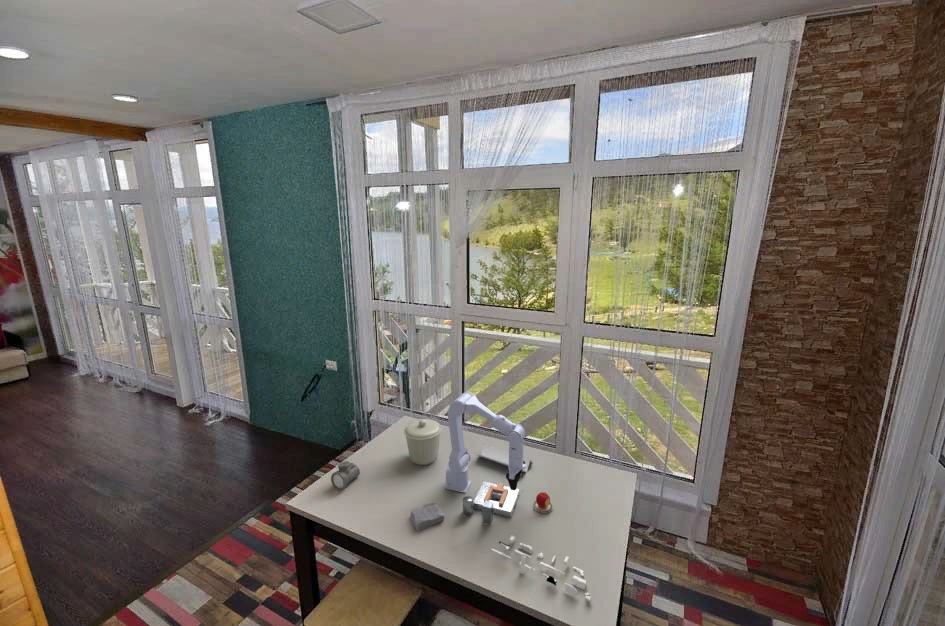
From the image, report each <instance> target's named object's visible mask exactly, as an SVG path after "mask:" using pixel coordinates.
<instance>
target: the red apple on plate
mask: <svg viewBox="0 0 945 626" xmlns="http://www.w3.org/2000/svg"><path fill="white" fill-rule="evenodd" d="M535 498H536V499H535V500H534V501H533V504H532V506H533V508H534V510H535V511H536V512H538V513H542V514H546V513H550V512H552V510H553V508H554V506H553V502H551V498H550V495H549V494H548V493H547V492H546V491H545V492H543V491H542V492H539V493H537V495H536V497H535Z"/></svg>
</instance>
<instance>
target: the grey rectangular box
mask: <svg viewBox="0 0 945 626" xmlns="http://www.w3.org/2000/svg"><path fill="white" fill-rule="evenodd" d="M493 508H494V502H491V501H486V500H485V502H484V504H483V510H482V524H484V525H488V526H492V524H493V522H494V513H493Z"/></svg>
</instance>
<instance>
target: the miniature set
mask: <svg viewBox="0 0 945 626" xmlns="http://www.w3.org/2000/svg"><path fill="white" fill-rule="evenodd" d="M516 538H517V536H515V535H513V534H510V538H509V543H511V544H513V543H514V542H516ZM498 544H499V545H501V546H504V547H505V550H506V551H509V549H511V546H510V544H506V543H505V542H502V541H499V542H498ZM518 549H521V550H523V551H525V552H528V553H529V554H532V552H533V546H531V545H529V544H526V543H522V542H518ZM518 549H516V548H515V549H514V552H516V553H517V554H520V555H521V556H522V557H521V561H519V564H518V565H519V566H520V569H519V573H520V574H521V575H524V573H525V569H528V570H530V571H531V572H533V571H536V569H535V568H534V567H533V566H529V565H527V564H526V561H527V557H528V558H530V559H531V558H532V556H531V555H529V554H527V553H524V552H522V551H520V550H518ZM491 550H492V551H493V552H495V553H496V554H499V555H500V556H503V557H504V558H505V557H506V558H507V559H509V560H511V559H512V557H511V556H509V555H508V554H505V553H504V552H505V551H502V552H501V551H499V550H497V549H494V548H491ZM543 558H544V554H543V552H540V553H538V555H537V559H540V560H541V561H540V562H539V565H541V566H544V567H545V568H549V569H552V570H553V571H557V572H560V573H561V574H563V575H566V573H565V572H563V571H561V570H558V569H556V568H555V567H553V566H552V565H549V564H547V563H544V562H543V561H542V560H543ZM556 558H557V557H556V555H554V556H553V557H552V559H551V564H554V562H555V560H556ZM569 561H570V557H569V556H568V555H567V556H565V558H564V560H563V565H565V566H567V564H568V563H569ZM572 569H573V570H575V571H576V572H577V573H579V576H581V577H584V573H585V572H584V570H583V569H581V568H579V567H576V566H574V565H573V568H572ZM542 576H543V577H545V578H546V583H550V584H552V585H553V586H554V587H555V586H557V582H558V581H557V578H554V577H553V576H552V575H547V574H546V573H544V572H543V573H542ZM579 576H577V575H573V577H572V581H571V584H569V583H567V582H564V583H563V584H564V586H565V588H562V590H563V591H564V592H566V593H568V594H570V595H572V596H573V595H575V596H576V595H577V594H578V593H579V592H578V590H577V588H581V589H582V590H586V584H587V580H585V579H583V578H581V577H579ZM572 585H573V586H572ZM575 587H577V588H575ZM590 595H591V594H590V593H589V592H584V596H585V599H584V600H585V601H587V602H591V599H592V598H591V596H590Z"/></svg>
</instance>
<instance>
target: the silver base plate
mask: <svg viewBox="0 0 945 626" xmlns="http://www.w3.org/2000/svg"><path fill="white" fill-rule="evenodd" d="M497 485H498V483H497V484H496V483H493V482H492V483H491V482H488V481H483V482H482V483H481V486H480V489H479V490H478V492H477V493H476V495H475V498H474V509H475V510H476V509H477V510H481V511H483V504H484V498H485V496H486V494H487V492H488V489H489V487H490V486H494V487H497ZM503 489H508V494H507V496H506V499H505V501H504V504H503V506H500V505H499V501H500V499H501V497H502V494H503V493H500V492H495V491H492V494H491V496H490V498H489V500H488V501H491V502H494V508H493V514H496V515H500V516H504V517H509V518H512V517H513V516H512V515H513V513H514V509H515V507H516V504H517V501H518V498H519V496H520V489H519V488H516V491H514V490H511V489H510V486H506V485H504V487H503ZM492 499H496V500H498V501H496V500H492Z"/></svg>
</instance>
